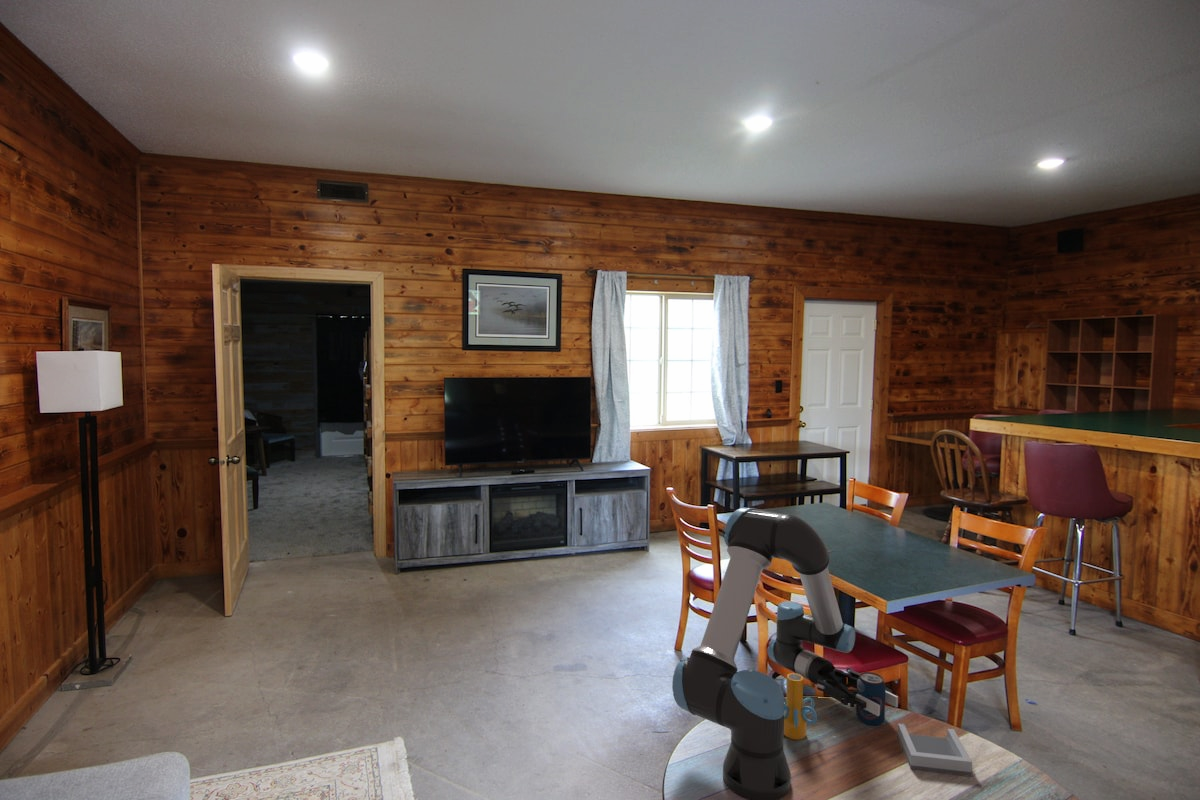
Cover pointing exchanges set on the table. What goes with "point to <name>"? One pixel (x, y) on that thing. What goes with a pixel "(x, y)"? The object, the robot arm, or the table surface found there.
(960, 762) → the dock
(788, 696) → the yellow hollow tube
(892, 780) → the table surface
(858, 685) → the soda can
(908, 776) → the table surface
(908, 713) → the table surface
